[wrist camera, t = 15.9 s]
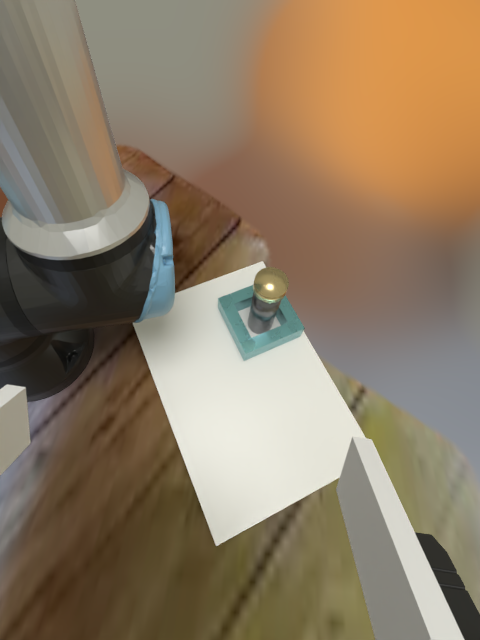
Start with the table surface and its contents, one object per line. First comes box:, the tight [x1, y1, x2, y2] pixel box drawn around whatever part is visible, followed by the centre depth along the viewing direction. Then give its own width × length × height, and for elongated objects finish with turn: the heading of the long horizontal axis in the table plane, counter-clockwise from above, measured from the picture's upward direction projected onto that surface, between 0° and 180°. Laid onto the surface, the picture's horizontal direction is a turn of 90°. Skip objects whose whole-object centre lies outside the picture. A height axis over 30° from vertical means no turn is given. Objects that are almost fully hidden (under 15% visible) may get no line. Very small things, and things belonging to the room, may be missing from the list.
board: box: [133, 261, 366, 546], centre depth 47 cm, size 32×22×1 cm
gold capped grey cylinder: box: [248, 267, 289, 334], centre depth 45 cm, size 4×4×12 cm
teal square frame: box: [218, 285, 305, 361], centre depth 49 cm, size 9×9×3 cm
